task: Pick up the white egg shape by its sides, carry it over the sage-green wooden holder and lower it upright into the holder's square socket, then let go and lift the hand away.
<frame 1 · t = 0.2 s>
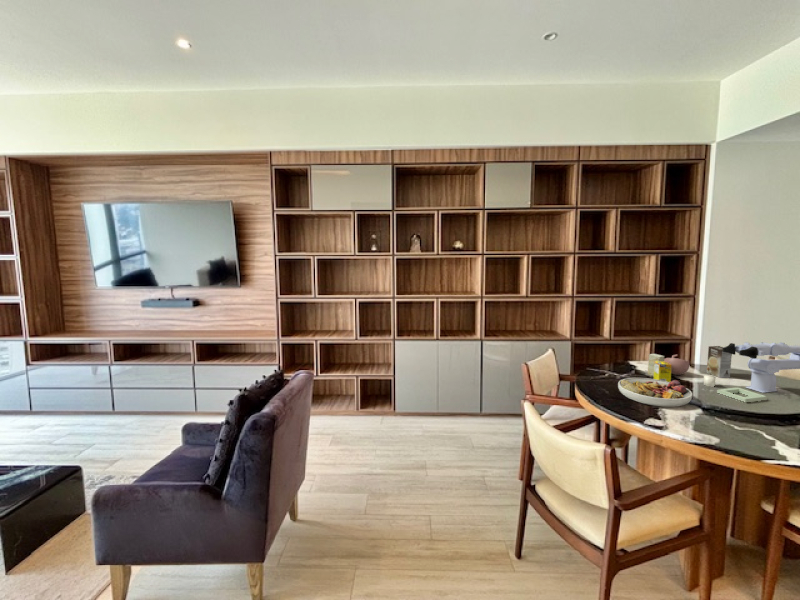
hand: (731, 351, 181), 21 cm above the table, tool horizontal, fingers open, 7 cm apart
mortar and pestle: (675, 374, 214), on the table
white egg shape: (709, 385, 194), on the table
supplement box: (661, 382, 201), on the table
coffee box: (718, 375, 210), on the table
skincare box: (655, 375, 212), on the table
bowl: (653, 397, 182), on the table
holder: (740, 396, 178), on the table
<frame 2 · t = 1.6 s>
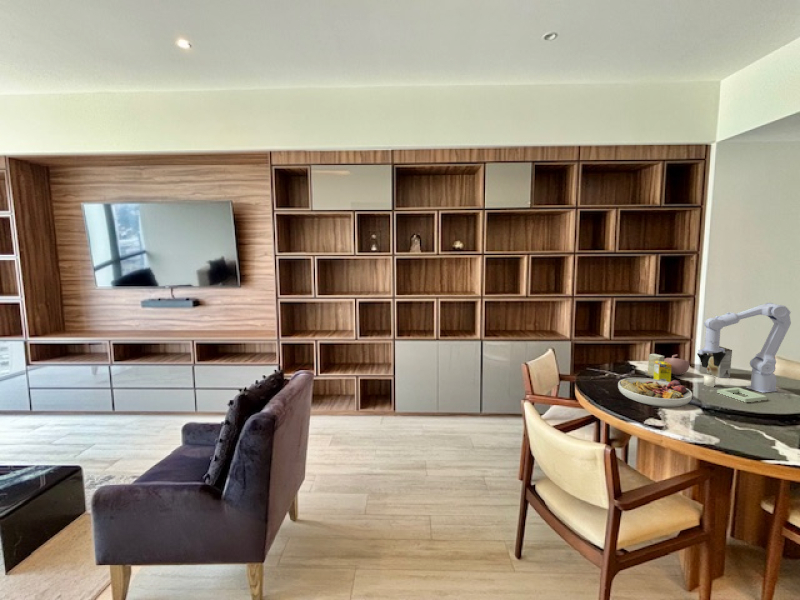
hand: (710, 366, 193), 10 cm above the table, tool pointing down, fingers open, 7 cm apart
nothing on the table moved.
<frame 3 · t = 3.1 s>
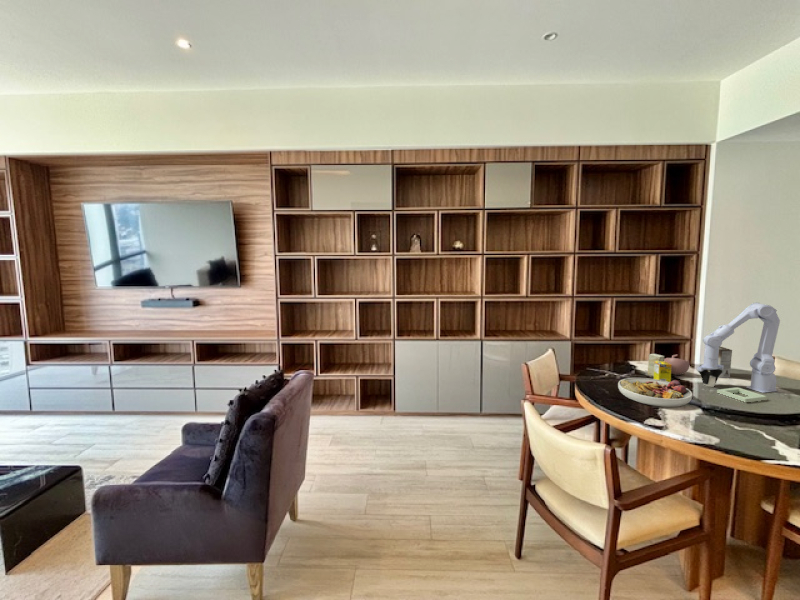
hand: (709, 383, 194), 1 cm above the table, tool pointing down, fingers closed on white egg shape, 5 cm apart
white egg shape: (709, 385, 194), on the table, touching gripper
everything else where it was.
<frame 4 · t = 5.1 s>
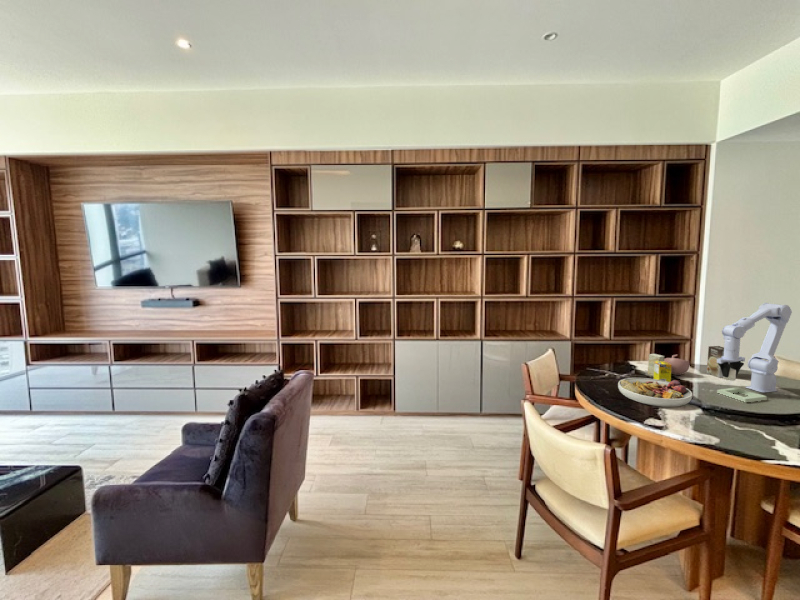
hand: (729, 376, 183), 8 cm above the table, tool pointing down, fingers closed on white egg shape, 5 cm apart
white egg shape: (729, 379, 183), point 7 cm above the table, touching gripper
everything else where it was.
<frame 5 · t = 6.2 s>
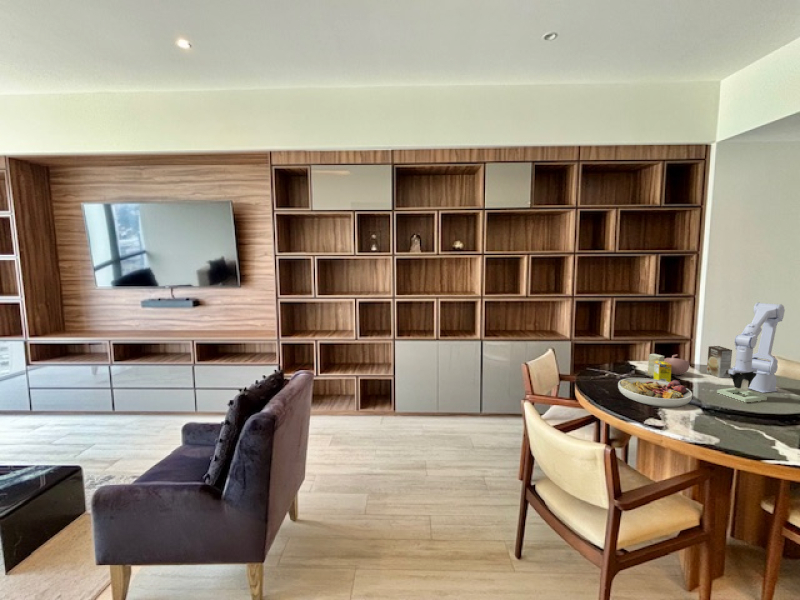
hand: (741, 387, 178), 5 cm above the table, tool pointing down, fingers closed on white egg shape, 5 cm apart
white egg shape: (741, 390, 178), point 3 cm above the table, touching gripper
everything else where it was.
when the fingers open (3 cm above the table, at t = 7.1 s): white egg shape drops 1 cm, resting in holder.
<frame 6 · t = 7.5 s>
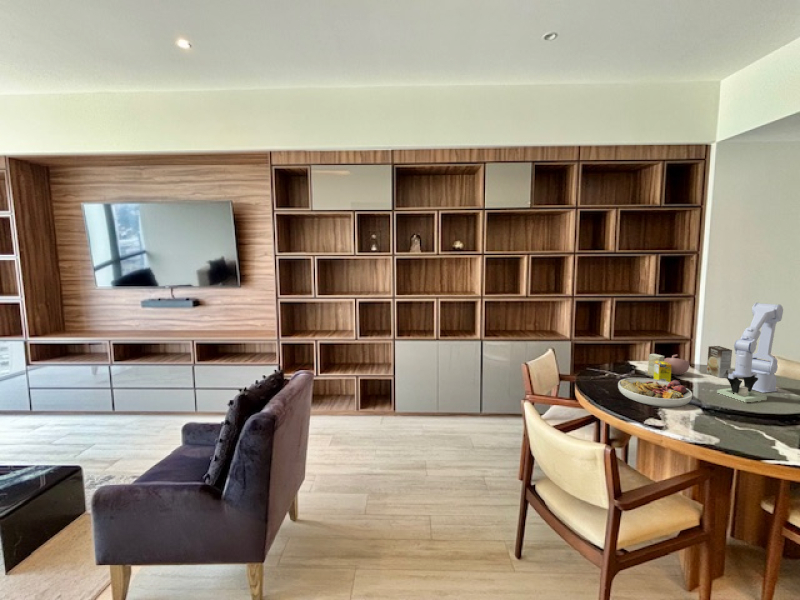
hand: (741, 391, 178), 3 cm above the table, tool pointing down, fingers open, 7 cm apart
white egg shape: (740, 397, 178), resting in holder
everything else where it was.
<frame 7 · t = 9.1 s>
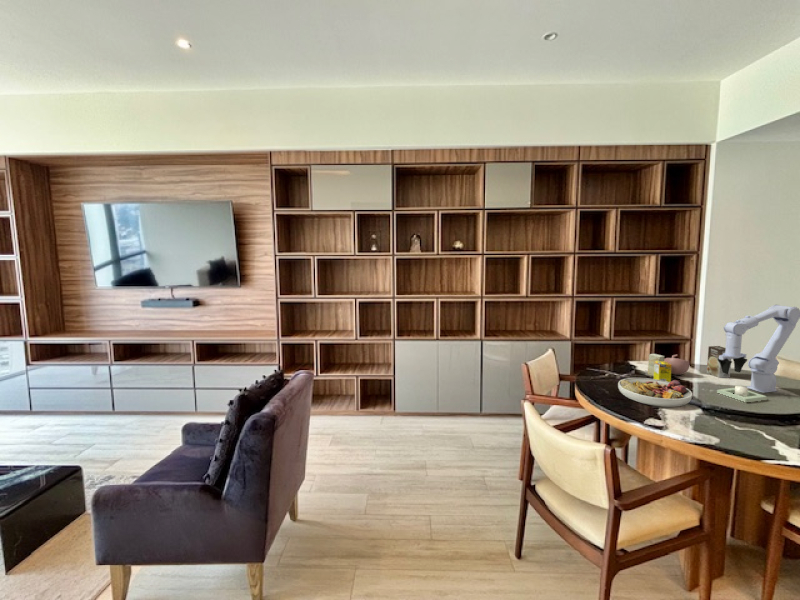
hand: (731, 372, 186), 9 cm above the table, tool pointing down, fingers open, 7 cm apart
nothing on the table moved.
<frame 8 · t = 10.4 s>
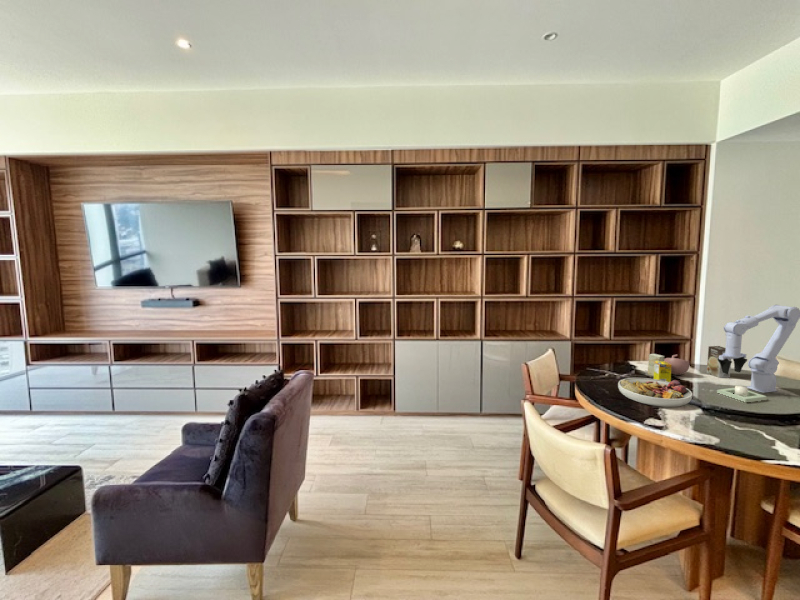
hand: (731, 372, 186), 9 cm above the table, tool pointing down, fingers open, 7 cm apart
nothing on the table moved.
at the end: white egg shape 0.1 cm off-centre on the holder, point 0.0 cm above the holder's base; white egg shape tilted 0°; the gripper is holding nothing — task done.
